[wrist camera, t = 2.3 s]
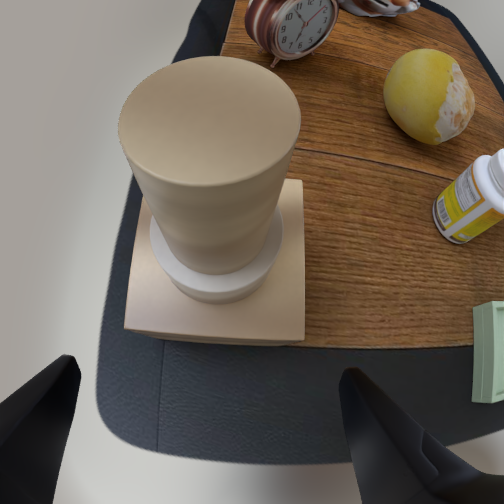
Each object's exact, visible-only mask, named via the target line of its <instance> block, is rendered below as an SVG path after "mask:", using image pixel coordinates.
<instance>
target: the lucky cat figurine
mask: <svg viewBox="0 0 504 504" xmlns="http://www.w3.org/2000/svg"><path fill="white" fill-rule="evenodd" d="M338 3H339V7H341V8H343V9H345V10H347V11H348V12H350V13H352V14H354V15H356V16H370V17H373V16H380V15H382V16H391V17H396V15H397V14H401V13H407V12H412V11H414V10H416V9H418V8H419V5H420V3H418V2H417V0H338Z"/></svg>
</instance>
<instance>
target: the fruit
mask: <svg viewBox="0 0 504 504" xmlns="http://www.w3.org/2000/svg"><path fill="white" fill-rule="evenodd" d="M383 96H384V102H385V106H386V109H387V111H388V113H389V115H390V116H391V118H392V119H393V121H394V122H395V123H396V124H397V125H398V126H399V127H400V128H401V129H402V130H403V131H404V132H405V133H407V134H408V135H409V136H411V137H412V138H414V139H416V140H418V141H420V142H422V143H425V144H429V145H438V144H440V143H441V142H444V141H446V140H449V139H450V138H453V137H455V136H457V135H459V134H460V133H461V132H462V131H463V130H464V129H465V128H466V126H467V125H468V122H469V120H470V118H471V117H472V115H473V113H474V110H475V102H474V94H473V92H472V90H471V89H470V87H469V84H468V81H467V79H466V78H465V76H464V75H463V73H462V71H461V70H460V67H459V65H458V63H457V62H456V61H455V60H454V59H453V58H452V57H450V56H449V55H447V54H445V53H443V52H441V51H438V50H433V49H416V50H413V51H410V52H408V53H406V54H404V55H403V56H401V57H400V58H399V59H398V60H397V61H396V62H395V63H394V65H393V66H392V67H391V69H390V71H389V73H388V74H387V77H386V79H385V83H384V89H383Z"/></svg>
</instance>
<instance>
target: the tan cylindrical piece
mask: <svg viewBox="0 0 504 504" xmlns="http://www.w3.org/2000/svg"><path fill="white" fill-rule="evenodd" d="M300 126H301V114H300V109H299V105H298V102H297V100H296V98H295V95H294V94H293V92H292V91H291V89H290V88H289V86H288V85H287V84H286V83H285V82H284V81H283V80H282V79H281V78H279V77H278V76H277V75H276V74H274V73H273V72H271V71H270V70H268V69H266V68H264V67H262V66H260V65H258V64H255V63H252V62H249V61H246V60H242V59H237V58H232V57H222V56H208V57H198V58H191V59H187V60H183V61H179V62H176V63H174V64H171V65H169V66H166V67H164V68H162V69H160V70H158V71H156V72H155V73H153V74H151V75H150V76H149V77H147V78H146V79H145V80H143V81H142V82H141V83H140V84H139V85H138V86H137V87H136V88H135V89H134V90H133V91H132V92H131V94H130V95H129V97H128V98H127V100H126V101H125V103H124V105H123V108H122V111H121V113H120V117H119V123H118V135H119V140H120V144H121V146H122V149H123V151H124V153H125V156H126V158H127V160H128V162H129V165H130V167H131V169H132V171H133V174H134V176H135V178H136V180H137V182H138V184H139V187H140V189H141V191H142V193H143V195H144V197H145V199H146V202H147V204H148V206H149V208H150V210H151V212H152V218H151V223H150V241H151V246H152V250H153V253H154V255H155V257H156V259H157V261H158V263H159V264H160V266H161V267H162V269H163V270H164V271H165V273H166V274H167V276H168V277H169V278H170V280H171V281H172V283H173V284H174V285H175V286H176V287H177V288H178V289H179V290H180V291H181V292H182V293H184V294H185V295H187V296H188V297H190V298H192V299H194V300H196V301H199V302H203V303H207V304H228V303H233V302H236V301H239V300H242V299H244V298H246V297H247V296H249V295H251V294H252V293H253V292H255V291H256V290H257V289H258V288H259V287H260V286H261V285H262V284H263V283H264V281H265V280H266V278H267V277H268V275H269V273H270V271H271V269H272V267H273V265H274V263H275V260H276V258H277V256H278V254H279V252H280V249H281V246H282V242H283V235H284V224H283V218H282V214H281V211H280V208H279V206H278V204H277V203H278V200H279V196H280V193H281V190H282V187H283V184H284V180H285V177H286V174H287V171H288V167H289V164H290V161H291V158H292V154H293V151H294V148H295V144H296V141H297V138H298V134H299V131H300Z"/></svg>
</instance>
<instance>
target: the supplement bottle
mask: <svg viewBox="0 0 504 504" xmlns="http://www.w3.org/2000/svg"><path fill="white" fill-rule="evenodd" d="M433 217H434V221H435V223H436V226H437V227H438V229H439V231H440V232H441V233H442V235H443V236H444V237H445V238H447V239H448V240H450V241H451V242H454V243H458V244H462V243H466V242H468V241H469V240H471V239H472V238H474V237H476V236H477V235H479V234H480V233H482V232H484V231H485V230H487V229H488V228H490V227H491V226H493V225H494V224H496V223H497V222H499V221H500V220H502V219H503V218H504V149H501V150H499V151H498V152H497V153H496V154H494V155H493V156H489V155H482V156H480V157H478V158H477V159H476V160H475V161H474V162H473V163H472V164H471V165H470V166H469V167H468V168H467V169H466V170H465V171H464V172H463V173H462V174H461V175H460V176H459V177H458V178H457V179H456V180H454V181H453V182H452V183H451V184H450V185H449V186H448V187H447V188H446V189H445V190H444V191H443V192H442V193H440V194H439V195H438V196H437V198H436V199H435V201H434V204H433Z"/></svg>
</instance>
